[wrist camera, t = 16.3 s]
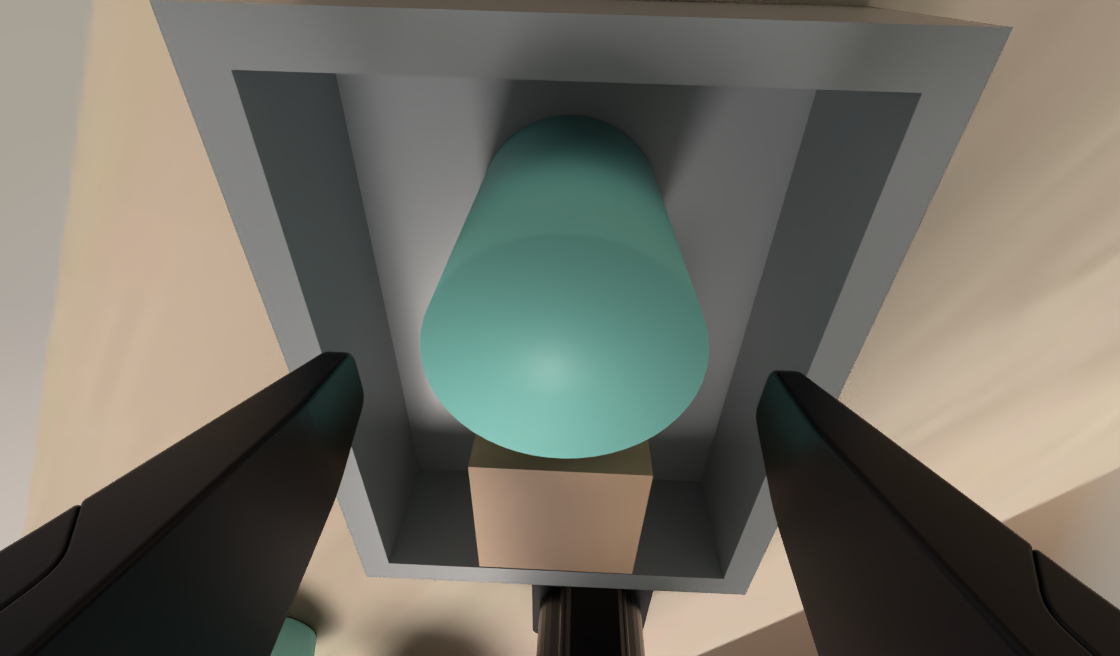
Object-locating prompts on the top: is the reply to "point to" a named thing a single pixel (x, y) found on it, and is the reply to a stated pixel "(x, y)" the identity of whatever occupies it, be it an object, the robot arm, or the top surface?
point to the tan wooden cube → (559, 508)
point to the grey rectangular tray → (683, 180)
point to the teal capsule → (566, 300)
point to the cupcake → (295, 640)
